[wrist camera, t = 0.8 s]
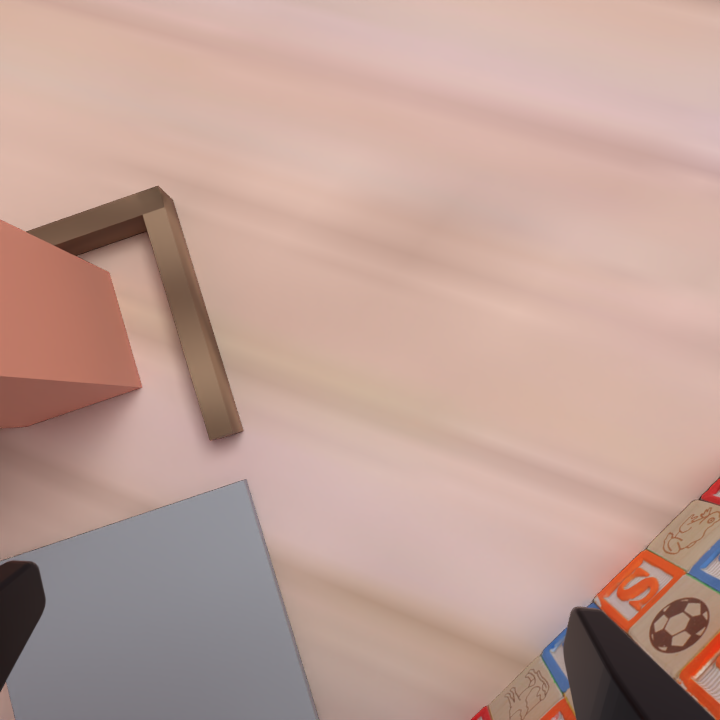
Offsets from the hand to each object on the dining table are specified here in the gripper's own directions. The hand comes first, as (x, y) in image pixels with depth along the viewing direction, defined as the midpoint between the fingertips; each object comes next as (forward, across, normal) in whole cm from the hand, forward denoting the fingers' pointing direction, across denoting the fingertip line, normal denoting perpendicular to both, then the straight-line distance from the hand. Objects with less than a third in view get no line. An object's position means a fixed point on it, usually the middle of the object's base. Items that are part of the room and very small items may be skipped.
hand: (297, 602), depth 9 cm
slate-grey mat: (+9, +8, +13) cm, 17 cm away
